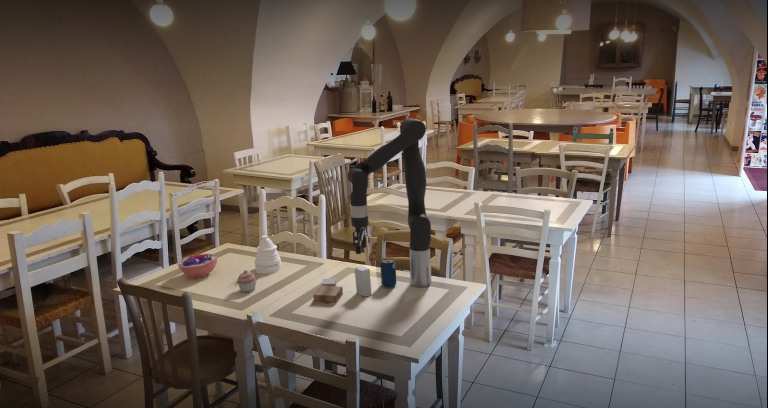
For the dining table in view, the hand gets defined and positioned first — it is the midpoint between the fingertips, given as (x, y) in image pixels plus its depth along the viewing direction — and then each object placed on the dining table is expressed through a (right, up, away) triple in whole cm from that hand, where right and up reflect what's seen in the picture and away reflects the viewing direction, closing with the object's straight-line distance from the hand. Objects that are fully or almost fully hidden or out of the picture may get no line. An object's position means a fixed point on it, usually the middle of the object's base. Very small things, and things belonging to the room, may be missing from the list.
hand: (361, 250), depth 242 cm
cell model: (-82, -15, +34) cm, 90 cm away
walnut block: (-14, -21, +1) cm, 26 cm away
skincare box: (+1, -20, +5) cm, 20 cm away
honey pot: (-48, -13, +39) cm, 64 cm away
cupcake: (-53, -20, +13) cm, 58 cm away
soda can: (+12, -17, +13) cm, 25 cm away
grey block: (-15, -19, +11) cm, 26 cm away
